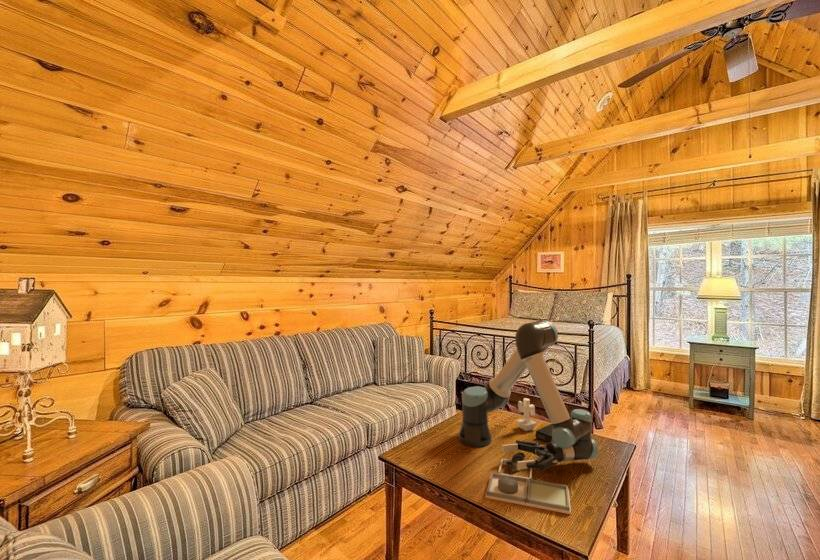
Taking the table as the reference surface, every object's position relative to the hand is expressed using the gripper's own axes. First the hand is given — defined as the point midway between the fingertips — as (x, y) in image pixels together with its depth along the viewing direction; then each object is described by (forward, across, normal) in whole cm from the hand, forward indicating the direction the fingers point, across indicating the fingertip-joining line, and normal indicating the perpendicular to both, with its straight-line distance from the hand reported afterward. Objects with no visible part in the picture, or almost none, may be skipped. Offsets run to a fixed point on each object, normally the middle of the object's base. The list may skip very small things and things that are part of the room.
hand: (509, 456), depth 150 cm
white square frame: (-2, 0, -6) cm, 6 cm away
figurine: (-25, +35, -6) cm, 44 cm away
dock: (0, -16, -6) cm, 17 cm away
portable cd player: (-36, +21, -7) cm, 42 cm away
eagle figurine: (-2, +1, -6) cm, 7 cm away
